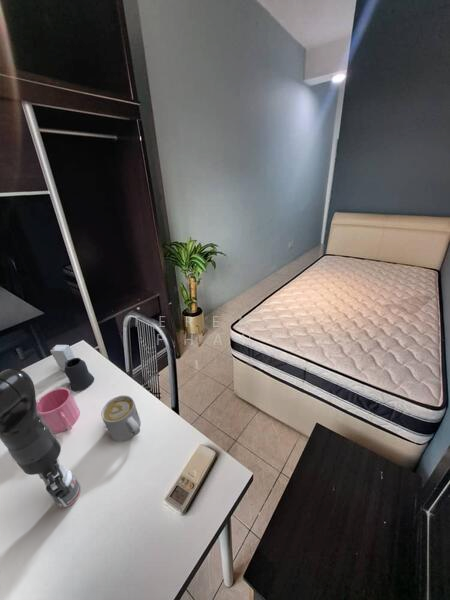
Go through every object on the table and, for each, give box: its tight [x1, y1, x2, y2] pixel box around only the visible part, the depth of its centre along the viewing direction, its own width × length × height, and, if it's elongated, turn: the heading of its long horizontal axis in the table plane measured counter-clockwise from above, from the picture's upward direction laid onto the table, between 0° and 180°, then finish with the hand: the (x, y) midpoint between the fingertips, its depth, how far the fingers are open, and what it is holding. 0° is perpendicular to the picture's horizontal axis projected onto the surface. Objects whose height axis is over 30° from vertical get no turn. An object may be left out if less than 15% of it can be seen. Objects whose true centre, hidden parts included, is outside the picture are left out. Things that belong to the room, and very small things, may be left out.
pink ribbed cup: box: [36, 387, 81, 434], centre depth 84 cm, size 14×10×10 cm
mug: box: [63, 357, 95, 393], centre depth 101 cm, size 12×9×11 cm
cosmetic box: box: [50, 344, 76, 372], centre depth 108 cm, size 6×4×12 cm
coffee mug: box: [101, 394, 142, 443], centre depth 80 cm, size 13×10×10 cm
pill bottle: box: [44, 465, 82, 508], centre depth 64 cm, size 6×6×10 cm
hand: (61, 484), depth 63 cm, fingers closed on pill bottle, 5 cm apart
